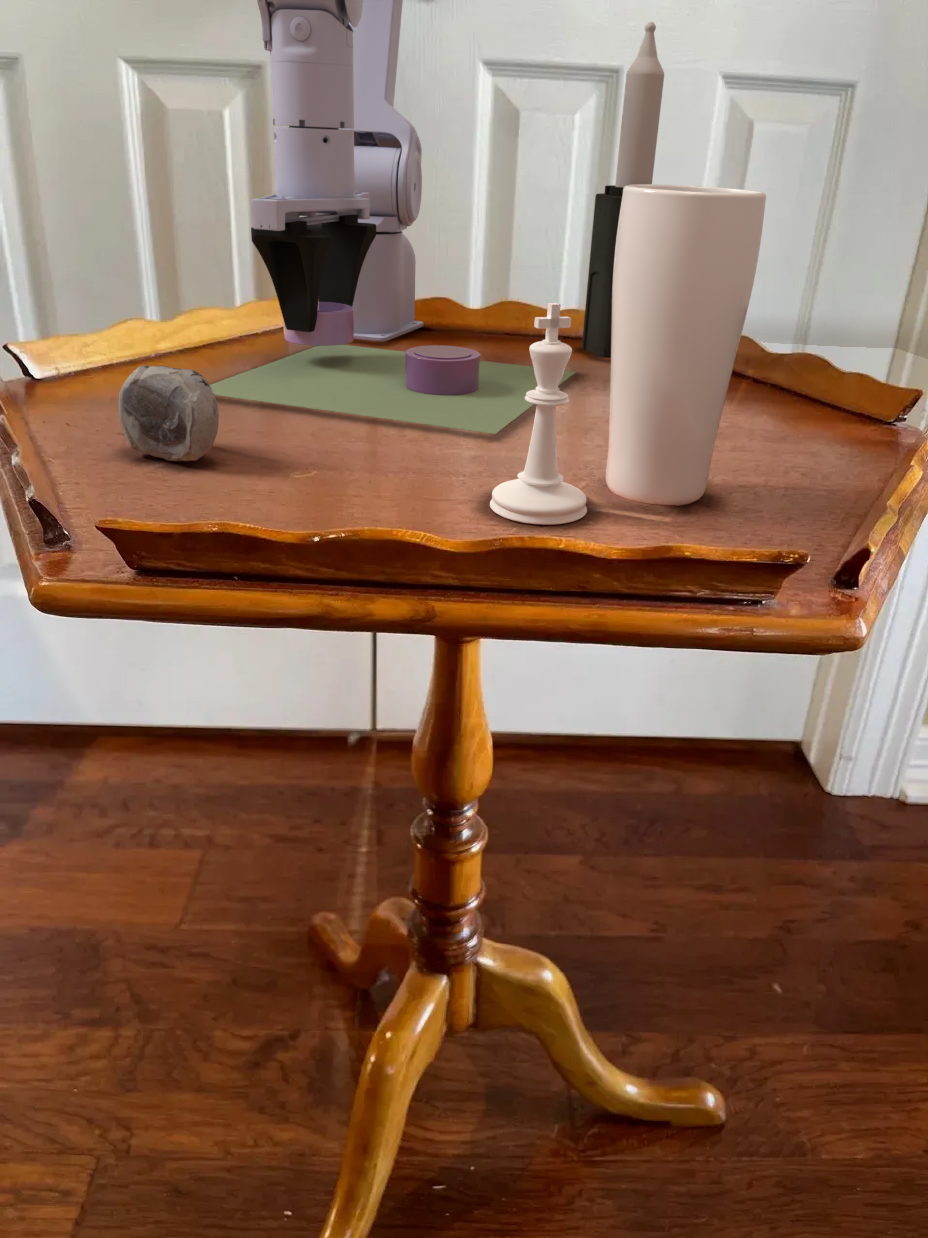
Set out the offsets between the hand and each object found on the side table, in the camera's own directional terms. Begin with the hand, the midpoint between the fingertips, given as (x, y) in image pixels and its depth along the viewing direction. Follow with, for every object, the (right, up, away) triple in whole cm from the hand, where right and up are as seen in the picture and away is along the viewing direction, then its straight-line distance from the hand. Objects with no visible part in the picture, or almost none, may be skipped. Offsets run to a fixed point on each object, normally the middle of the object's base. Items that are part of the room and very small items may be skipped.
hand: (318, 324), depth 77 cm
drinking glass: (+21, -16, -23) cm, 36 cm away
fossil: (-5, -14, -21) cm, 26 cm away
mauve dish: (+10, -6, -5) cm, 12 cm away
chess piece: (+15, -17, -26) cm, 35 cm away
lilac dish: (0, -1, 0) cm, 1 cm away
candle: (+24, 0, +10) cm, 26 cm away
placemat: (+6, -5, -4) cm, 9 cm away
